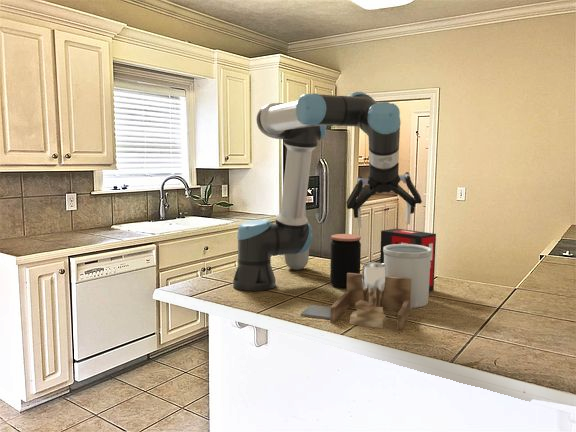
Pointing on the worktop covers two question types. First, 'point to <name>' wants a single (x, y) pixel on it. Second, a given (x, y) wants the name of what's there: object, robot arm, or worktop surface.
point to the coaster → (317, 312)
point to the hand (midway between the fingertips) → (383, 223)
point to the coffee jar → (344, 258)
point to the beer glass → (374, 283)
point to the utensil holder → (410, 268)
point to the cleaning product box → (411, 238)
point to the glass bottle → (297, 258)
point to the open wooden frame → (394, 297)
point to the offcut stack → (368, 315)
